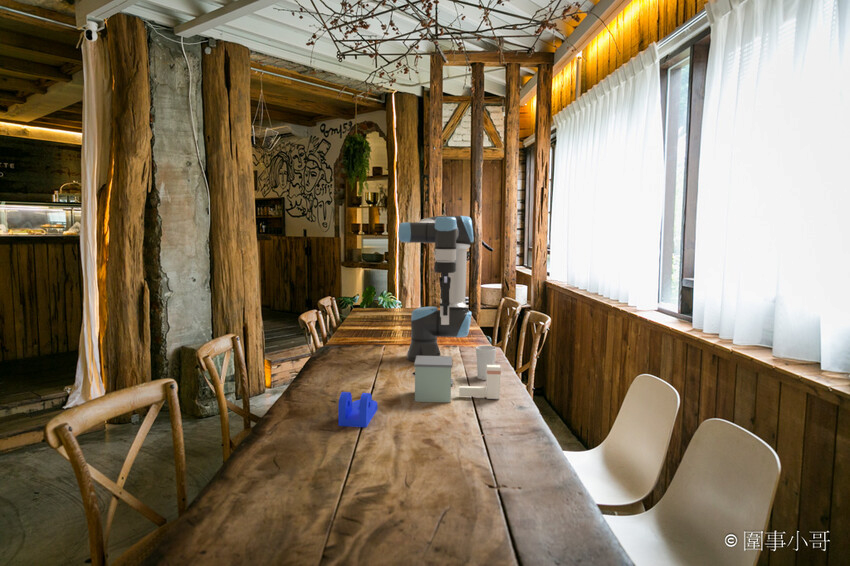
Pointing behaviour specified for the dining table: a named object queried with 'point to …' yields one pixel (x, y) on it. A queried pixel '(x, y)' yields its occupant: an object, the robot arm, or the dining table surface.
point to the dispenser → (433, 378)
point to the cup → (484, 360)
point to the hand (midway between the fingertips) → (444, 320)
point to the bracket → (356, 410)
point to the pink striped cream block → (491, 385)
